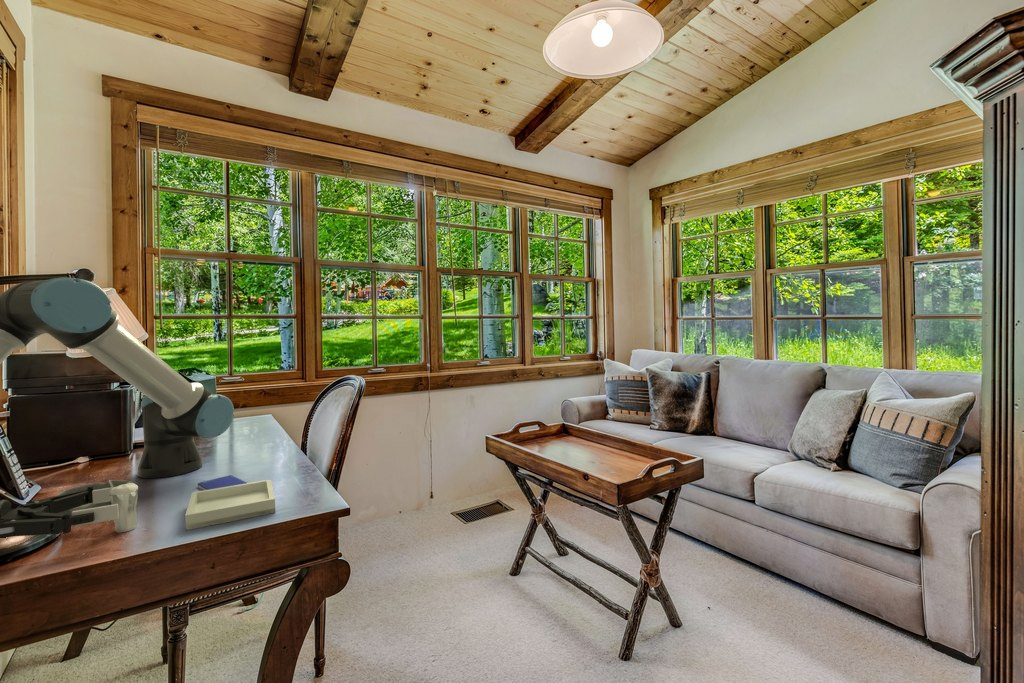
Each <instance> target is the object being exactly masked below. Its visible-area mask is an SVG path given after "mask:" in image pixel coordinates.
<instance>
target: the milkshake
mask: <svg viewBox="0 0 1024 683" xmlns="http://www.w3.org/2000/svg"><path fill="white" fill-rule="evenodd" d="M108 482H109V483H110V486H111V488H112V489H111V490H110V492H109V495H110V500H111V505H114V504H118V510H119V518H118V519H116V520H113V522H114V527H115V532H116V533H127V532H130V531H132V530H134V529H137V523H138V522H137V521H138V498H139V497H138V496H139V486H138V485H137V484H136V483H134V482H133V483H134V484H133V483H127V484H122V485H119V486H117V487H114V486H113V484H112V482H111V479H109V480H108Z"/></svg>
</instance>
